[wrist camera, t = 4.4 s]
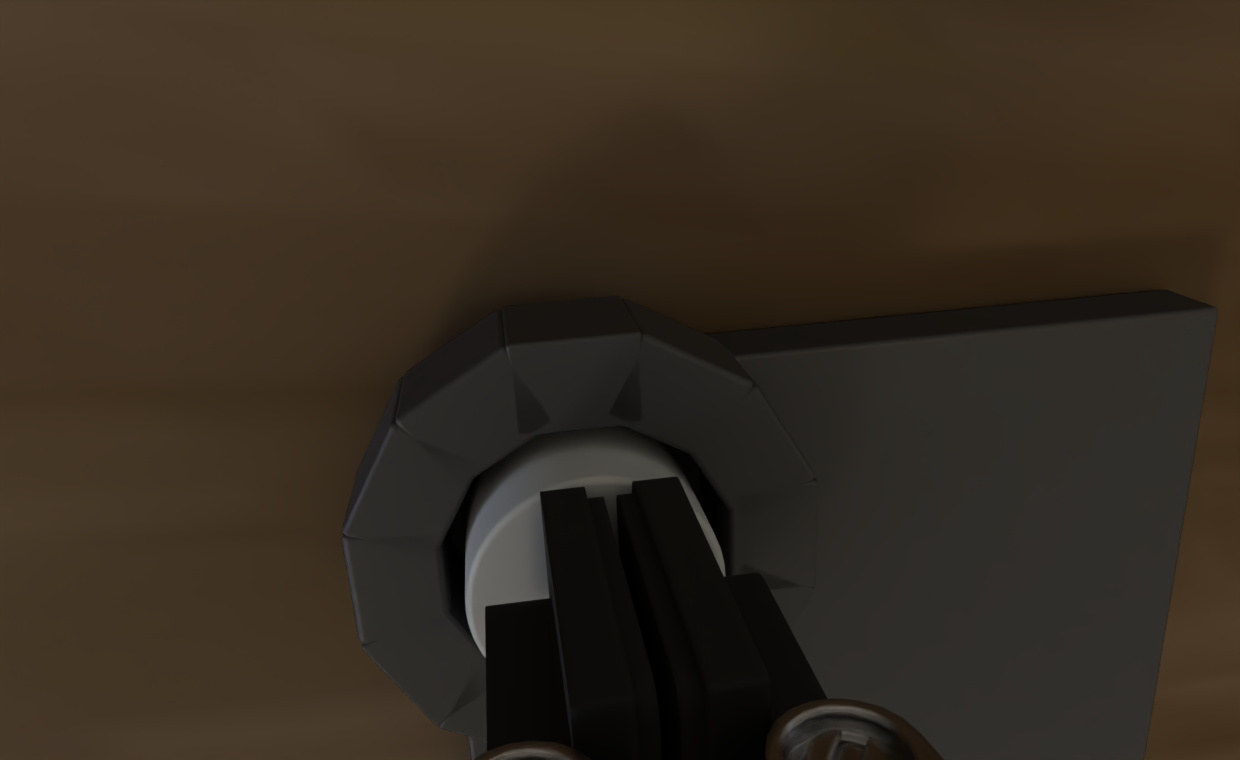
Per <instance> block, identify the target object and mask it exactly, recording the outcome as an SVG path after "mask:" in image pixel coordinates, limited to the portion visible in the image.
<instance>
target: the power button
mask: <svg viewBox="0 0 1240 760" xmlns="http://www.w3.org/2000/svg"><path fill="white" fill-rule="evenodd" d="M675 476H677V477H678V478H679V480H680V482H681V484H682V486H683V488H684V491H685V493H686V495H687V497H688V499H689V501H690V504H691V506H692V508H693V510H694V512H695V515H696V517H697V519H698V521H699V523H700V525H701V528H702V530H703V532H704V534H705V536H706V539H707V541H708V543H709V545H710V547H711V549H712V552H713V554H714V556H715V558H716V560H717V563H718V565H719V567H720V569H721V571H722V574H723V576H726V575H725V564H724V559H723V555H722V551H721V548H720V546H719V543H718V541H717V538H716V536H715V534H714V532H713V530H712V528H711V526H710V524H709V522H708V520H707V518H706V516H705V514H704V512H703V510H702V508H701V506H700V504H699V502H698V500H697V498H696V495H695V493H694V491H693V489H692V487H691V485H690V483H689V481H688V479H687V477H686V475H685V473H684V471H683V470H682V468H681V466H680V465H679V463H678V461H677V460H676V458H675V457H674V456H673V455H672V454H671V452H670V451H669V450H668V449H667V448H666V447H665V446H664V445H663V444H662V443H661V442H660V441H658V440H656V439H653V438H651V437H649V436H646V435H644V434H641V433H639V432H637V431H634V430H632V429H629V428H627V427H625V426H613V427H604V428H595V429H585V430H576V431H567V432H557V433H548V434H539V435H537V436H535V437H534V438H532V439H531V440H529V441H528V442H526V443H525V444H523V445H522V446H520V447H519V448H517V449H516V450H514V451H513V452H511V453H510V454H509V455H507V456H506V457H504V458H503V459H501V460H500V461H498V462H497V463H495V464H494V465H492V466H491V467H489V468H488V469H486V470H485V471H483V472H482V473H481V474H480V475H479V477H478V479H477V481H476V483H475V485H474V487H473V490H472V492H471V495H470V499H469V503H468V507H467V513H466V532H465V607H466V615H467V620H468V625H469V628H470V630H471V633H472V636H473V638H474V641H475V642H476V644H477V646H478V648H479V650H480V651H481V653H482V654H483V656H484V657H485V658H486V647H485V607H486V606H490V605H498V604H506V603H514V602H522V601H531V600H539V599H547V598H549V589H548V578H547V567H546V556H545V545H544V534H543V524H542V513H541V502H540V491H549V490H558V489H567V488H576V487H585V490H586V494H587V498H594V497H602V496H603V497H604V500H605V504H606V507H607V511H608V514H609V518H610V522H611V525H612V529H613V533H614V536H615V540H616V544H617V547H618V551H619V540H618V524H617V507H616V497H617V495H620V494H629V493H632V482H633V481H639V480H648V479H657V478H666V477H675Z"/></svg>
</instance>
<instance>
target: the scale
mask: <svg viewBox="0 0 1240 760" xmlns="http://www.w3.org/2000/svg"><path fill="white" fill-rule="evenodd" d="M1217 314H1218V310H1217V308H1216V307H1213V306H1211V305H1208V304H1205V303H1202V302H1199V301H1197V300H1194V299H1191V298H1188V297H1185V296H1183V295H1180V294H1177V293H1174V292H1171V291H1169V290H1158V291H1148V292H1138V293H1127V294H1117V295H1107V296H1096V297H1086V298H1076V299H1066V300H1055V301H1045V302H1035V303H1024V304H1014V305H1004V306H993V307H983V308H973V309H962V310H952V311H942V312H931V313H921V314H911V315H901V316H890V317H880V318H870V319H859V320H849V321H839V322H828V323H818V324H808V325H797V326H787V327H777V328H767V329H756V330H746V331H736V332H725V333H715V334H702V333H700V332H698V331H696V330H694V329H692V328H689V327H687V326H685V325H683V324H681V323H679V322H676V321H674V320H672V319H670V318H668V317H666V316H663V315H661V314H659V313H657V312H655V311H653V310H650V309H648V308H646V307H644V306H642V305H639V304H637V303H635V302H633V301H631V300H629V299H621V298H620V297H619V296H609V297H598V298H587V299H576V300H565V301H554V302H543V303H532V304H521V305H510V306H504V307H502V308H501V310H496V311H494V312H492V313H491V314H489V315H488V316H487V317H485V318H484V319H482V320H481V321H479V322H478V323H476V324H475V325H473V326H472V327H471V328H469V329H468V330H466V331H465V332H463V333H462V334H460V335H459V336H457V337H456V338H454V339H453V340H452V341H450V342H449V343H447V344H446V345H444V346H443V347H441V348H440V349H438V350H437V351H435V352H434V353H433V354H431V355H430V356H428V357H427V358H425V359H424V360H422V361H421V362H419V363H418V364H416V365H415V366H414V367H412V368H411V369H409V370H408V371H406V373H405V375H404V377H402V378H401V379H399V381H398V383H397V385H396V387H395V389H394V392H393V394H392V396H391V398H390V400H389V403H388V405H387V407H386V409H385V411H384V414H383V416H382V418H381V420H380V422H379V425H378V427H377V429H376V431H375V433H374V436H373V438H372V440H371V442H370V444H369V447H368V449H367V451H366V453H365V455H364V458H363V460H362V462H361V464H360V466H359V469H358V471H357V474H356V478H355V482H354V486H353V489H352V493H351V497H350V501H349V505H348V509H347V512H346V516H345V520H344V524H343V535H342V539H341V540H342V545H343V551H344V557H345V563H346V568H347V574H348V580H349V585H350V591H351V597H352V603H353V608H354V614H355V620H356V626H357V631H358V637H359V639H360V641H361V643H362V648H363V650H364V651H365V652H366V654H367V655H368V656H369V657H370V658H371V659H372V660H373V661H374V662H375V663H376V664H377V665H378V666H379V667H380V668H381V669H382V670H383V671H384V672H385V673H386V674H387V675H388V676H389V677H390V679H391V680H392V681H393V682H394V683H395V684H396V685H397V686H398V687H399V688H400V689H401V690H402V691H403V692H404V693H405V694H406V695H407V696H408V697H409V698H410V699H411V700H412V701H413V702H414V703H415V705H416V706H417V707H418V708H419V709H420V710H421V711H422V712H423V713H424V714H425V715H426V716H427V717H428V718H429V719H430V720H431V721H432V722H433V723H434V724H435V725H437V726H438V725H439V726H440V727H441V728H442V729H445V730H448V731H451V732H455V733H458V734H461V735H465V736H468V738H469V746H470V753H471V760H473V759H475V758H476V757H478V756H479V755H481V754H482V753H484V752H487V720H486V658H485V657H484V656H483V654H482V653H481V651H480V650H479V648H478V646H477V644H476V642H475V641H474V638H473V636H472V633H471V630H470V628H469V625H468V620H467V615H466V607H465V532H466V513H467V507H468V503H469V499H470V495H471V492H472V490H473V487H474V485H475V483H476V481H477V479H478V477H479V475H480V474H481V473H482V472H483V471H485V470H486V469H488V468H489V467H491V466H492V465H494V464H495V463H497V462H498V461H500V460H501V459H503V458H504V457H506V456H507V455H509V454H510V453H511V452H513V451H514V450H516V449H517V448H519V447H520V446H522V445H523V444H525V443H526V442H528V441H529V440H531V439H532V438H534V437H535V436H537V435H539V434H548V433H557V432H567V431H576V430H585V429H595V428H604V427H613V426H625V427H627V428H629V429H632V430H634V431H637V432H639V433H641V434H644V435H646V436H649V437H651V438H653V439H656V440H658V441H660V442H661V443H662V444H663V445H664V446H665V447H666V448H667V449H668V450H669V451H670V452H671V454H672V455H673V456H674V457H675V458H676V460H677V461H678V463H679V465H680V466H681V468H682V470H683V471H684V473H685V475H686V477H687V479H688V481H689V483H690V485H691V487H692V489H693V491H694V493H695V495H696V498H697V500H698V502H699V504H700V506H701V508H702V510H703V512H704V514H705V516H706V518H707V520H708V522H709V524H710V526H711V528H712V530H713V532H714V534H715V536H716V538H717V541H718V543H719V546H720V548H721V551H722V555H723V559H724V564H725V575H726V576H732V575H740V574H748V573H759V574H761V576H762V577H763V578H764V580H765V581H766V583H767V585H768V587H769V589H770V591H771V593H772V595H773V597H774V598H775V600H776V602H777V604H778V606H779V608H780V610H781V612H782V613H783V615H784V617H785V619H786V621H787V623H788V625H789V627H790V629H791V630H792V632H793V634H794V636H795V638H796V640H797V642H798V644H799V646H800V647H801V649H802V651H803V653H804V655H805V657H806V659H807V661H808V663H809V664H810V666H811V668H812V670H813V672H814V674H815V676H816V678H817V679H818V681H819V683H820V685H821V687H822V689H823V691H824V693H825V695H826V696H827V698H828V699H831V698H837V699H850V700H859V701H863V702H866V703H870V704H874V705H877V706H881V707H883V708H885V709H887V710H889V711H891V712H893V713H895V714H897V715H899V716H901V717H903V718H904V719H905V720H906V721H907V722H909V723H910V724H911V725H912V726H913V727H914V728H916V729H917V730H918V731H919V732H920V733H921V734H922V735H923V736H924V737H925V738H926V740H927V741H928V742H929V743H930V744H931V745H932V746H933V748H934V749H935V750H936V751H937V752H938V753H939V754H940V756H941V757H942V758H943V759H944V760H1144V756H1145V750H1146V744H1147V738H1148V732H1149V726H1150V720H1151V714H1152V708H1153V702H1154V696H1155V690H1156V684H1157V678H1158V672H1159V666H1160V659H1161V653H1162V647H1163V641H1164V635H1165V629H1166V623H1167V617H1168V611H1169V605H1170V599H1171V593H1172V587H1173V581H1174V575H1175V569H1176V563H1177V557H1178V550H1179V544H1180V538H1181V532H1182V526H1183V520H1184V514H1185V508H1186V502H1187V496H1188V490H1189V484H1190V478H1191V472H1192V466H1193V460H1194V454H1195V448H1196V441H1197V435H1198V429H1199V423H1200V417H1201V411H1202V405H1203V399H1204V393H1205V387H1206V381H1207V375H1208V369H1209V363H1210V357H1211V351H1212V345H1213V339H1214V332H1215V326H1216V320H1217Z"/></svg>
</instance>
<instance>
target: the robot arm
mask: <svg viewBox="0 0 1240 760" xmlns="http://www.w3.org/2000/svg"><path fill="white" fill-rule="evenodd" d="M540 502H541V513H542V524H543V534H544V545H545V556H546V567H547V578H548V589H549V598H547V599H539V600H531V601H522V602H514V603H506V604H498V605H490V606H486V607H485V647H486V720H487V752H484V753H482V754H481V755H479V756H478V757H476V758H475V759H473V760H944V759H943V758H942V757H941V756H940V754H939V753H938V752H937V751H936V750H935V749H934V748H933V746H932V745H931V744H930V743H929V742H928V741H927V740H926V738H925V737H924V736H923V735H922V734H921V733H920V732H919V731H918V730H917V729H916V728H914V727H913V726H912V725H911V724H910V723H909V722H907V721H906V720H905V719H904V718H903V717H901V716H899V715H897V714H895V713H893V712H891V711H889V710H887V709H885V708H883V707H881V706H877V705H874V704H870V703H866V702H863V701H859V700H850V699H837V698H831V699H828V698H827V696H826V695H825V693H824V691H823V689H822V687H821V685H820V683H819V681H818V679H817V678H816V676H815V674H814V672H813V670H812V668H811V666H810V664H809V663H808V661H807V659H806V657H805V655H804V653H803V651H802V649H801V647H800V646H799V644H798V642H797V640H796V638H795V636H794V634H793V632H792V630H791V629H790V627H789V625H788V623H787V621H786V619H785V617H784V615H783V613H782V612H781V610H780V608H779V606H778V604H777V602H776V600H775V598H774V597H773V595H772V593H771V591H770V589H769V587H768V585H767V583H766V581H765V580H764V578H763V577H762V576H761V574H759V573H748V574H740V575H732V576H723V574H722V571H721V569H720V567H719V565H718V563H717V560H716V558H715V556H714V554H713V552H712V549H711V547H710V545H709V543H708V541H707V539H706V536H705V534H704V532H703V530H702V528H701V525H700V523H699V521H698V519H697V517H696V515H695V512H694V510H693V508H692V506H691V504H690V501H689V499H688V497H687V495H686V493H685V491H684V488H683V486H682V484H681V482H680V480H679V478H678V477H677V476H675V477H666V478H657V479H648V480H639V481H633V482H632V493H629V494H620V495H617V497H616V507H617V524H618V540H619V551H618V547H617V544H616V540H615V536H614V533H613V529H612V525H611V522H610V518H609V514H608V511H607V507H606V504H605V500H604V497H603V496H602V497H594V498H587V494H586V490H585V487H576V488H567V489H558V490H549V491H540Z"/></svg>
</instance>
